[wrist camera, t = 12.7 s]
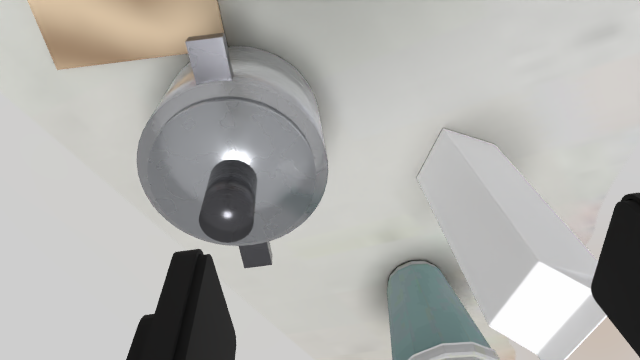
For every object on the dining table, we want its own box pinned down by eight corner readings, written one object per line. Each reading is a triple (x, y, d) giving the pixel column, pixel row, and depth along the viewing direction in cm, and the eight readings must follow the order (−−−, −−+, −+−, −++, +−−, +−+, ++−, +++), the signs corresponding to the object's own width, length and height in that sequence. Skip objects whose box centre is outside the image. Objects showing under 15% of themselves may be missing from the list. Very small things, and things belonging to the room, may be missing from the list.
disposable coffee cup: (454, 237, 50) (512, 351, 37) (461, 301, 56) (514, 419, 43) (362, 259, 51) (388, 377, 38) (378, 320, 56) (406, 441, 44)
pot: (132, 22, 36) (91, 55, 28) (306, 0, 36) (313, 27, 28) (194, 217, 46) (177, 280, 38) (329, 200, 46) (338, 260, 38)
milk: (415, 177, 46) (505, 369, 27) (443, 126, 43) (565, 300, 24) (467, 192, 47) (586, 384, 28) (497, 143, 44) (653, 320, 25)
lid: (127, 108, 30) (95, 150, 25) (304, 85, 30) (309, 122, 25) (177, 245, 36) (160, 300, 31) (323, 225, 36) (329, 277, 31)
